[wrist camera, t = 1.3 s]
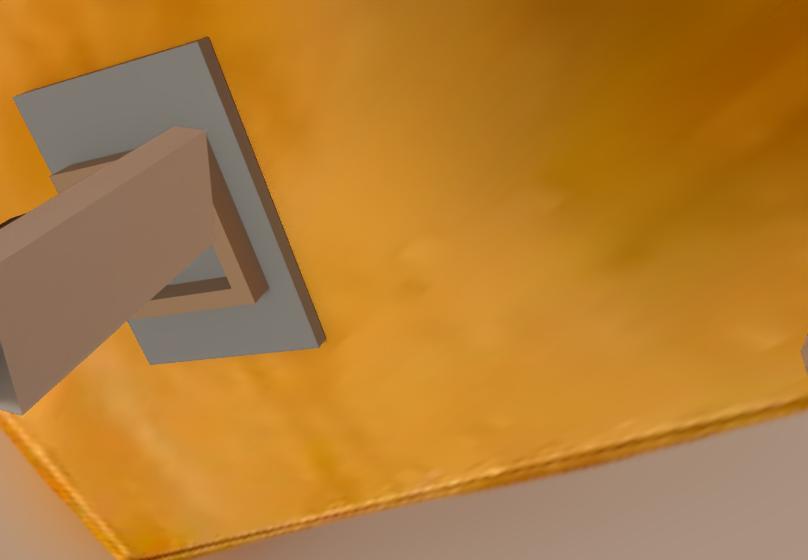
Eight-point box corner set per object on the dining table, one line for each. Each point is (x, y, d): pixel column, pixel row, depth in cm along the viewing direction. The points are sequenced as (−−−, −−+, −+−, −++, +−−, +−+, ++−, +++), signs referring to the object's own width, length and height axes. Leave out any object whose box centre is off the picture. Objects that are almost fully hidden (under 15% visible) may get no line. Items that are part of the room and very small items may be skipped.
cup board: (26, 92, 47) (-12, 106, 44) (208, 37, 41) (177, 49, 39) (159, 355, 55) (133, 381, 52) (325, 337, 50) (307, 365, 47)
